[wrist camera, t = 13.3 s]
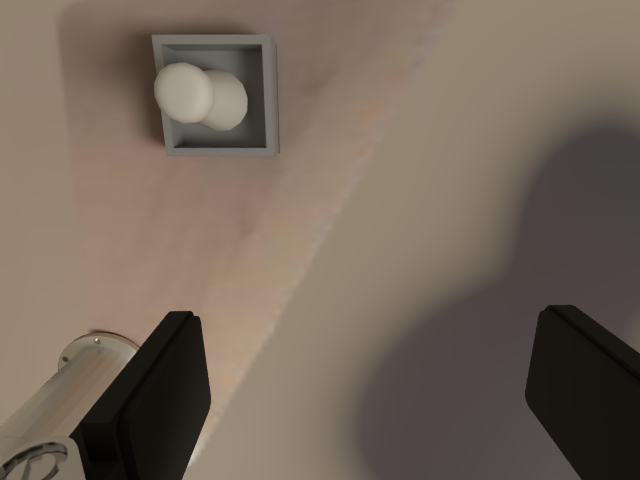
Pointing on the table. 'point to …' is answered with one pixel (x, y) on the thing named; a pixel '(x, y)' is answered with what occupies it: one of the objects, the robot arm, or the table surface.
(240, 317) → the table surface
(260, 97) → the tray
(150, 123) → the table surface
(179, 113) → the salt shaker
